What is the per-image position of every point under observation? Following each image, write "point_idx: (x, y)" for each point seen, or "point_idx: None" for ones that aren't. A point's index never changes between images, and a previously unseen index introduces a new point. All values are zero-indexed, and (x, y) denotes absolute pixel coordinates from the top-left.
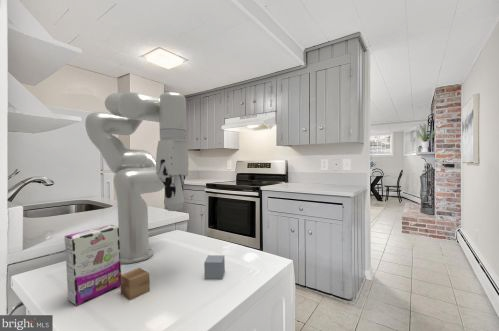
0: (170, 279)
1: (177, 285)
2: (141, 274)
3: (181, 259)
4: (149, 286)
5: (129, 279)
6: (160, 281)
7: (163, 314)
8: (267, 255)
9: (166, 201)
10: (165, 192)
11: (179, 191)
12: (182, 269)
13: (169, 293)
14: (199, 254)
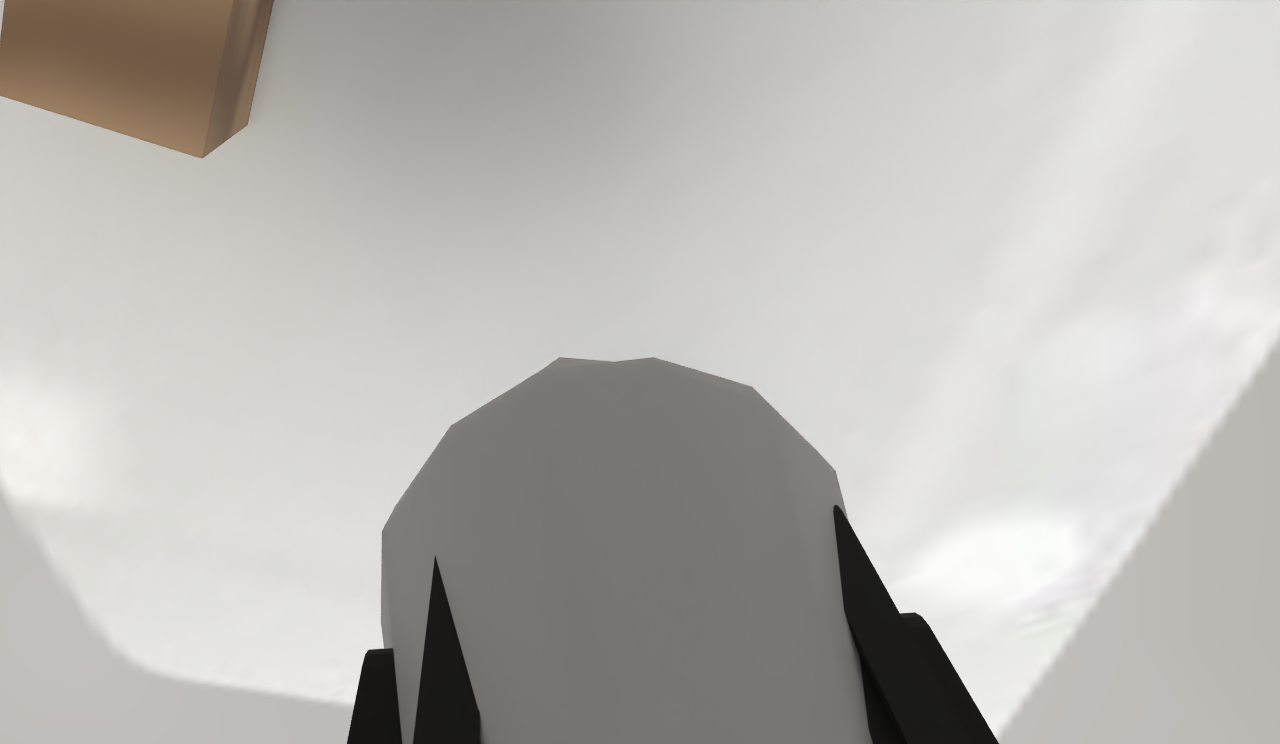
0: (471, 169)
1: (408, 283)
2: (137, 110)
3: (870, 12)
4: (235, 132)
5: (5, 70)
6: (411, 104)
7: (77, 409)
8: (1029, 659)
9: (386, 572)
10: (424, 670)
11: None
12: (666, 159)
13: (288, 296)
14: (1011, 132)
